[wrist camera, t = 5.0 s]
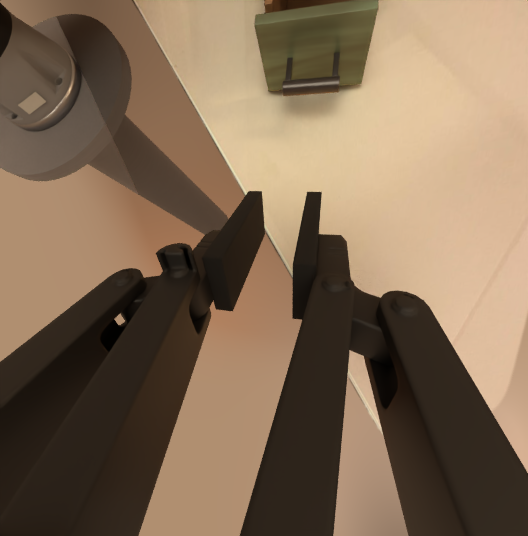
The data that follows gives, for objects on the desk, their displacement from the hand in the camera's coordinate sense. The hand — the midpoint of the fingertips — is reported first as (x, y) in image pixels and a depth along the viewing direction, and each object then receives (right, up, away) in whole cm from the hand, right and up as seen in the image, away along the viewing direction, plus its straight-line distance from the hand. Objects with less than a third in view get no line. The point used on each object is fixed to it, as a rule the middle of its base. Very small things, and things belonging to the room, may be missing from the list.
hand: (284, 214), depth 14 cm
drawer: (+5, +24, +17) cm, 30 cm away
